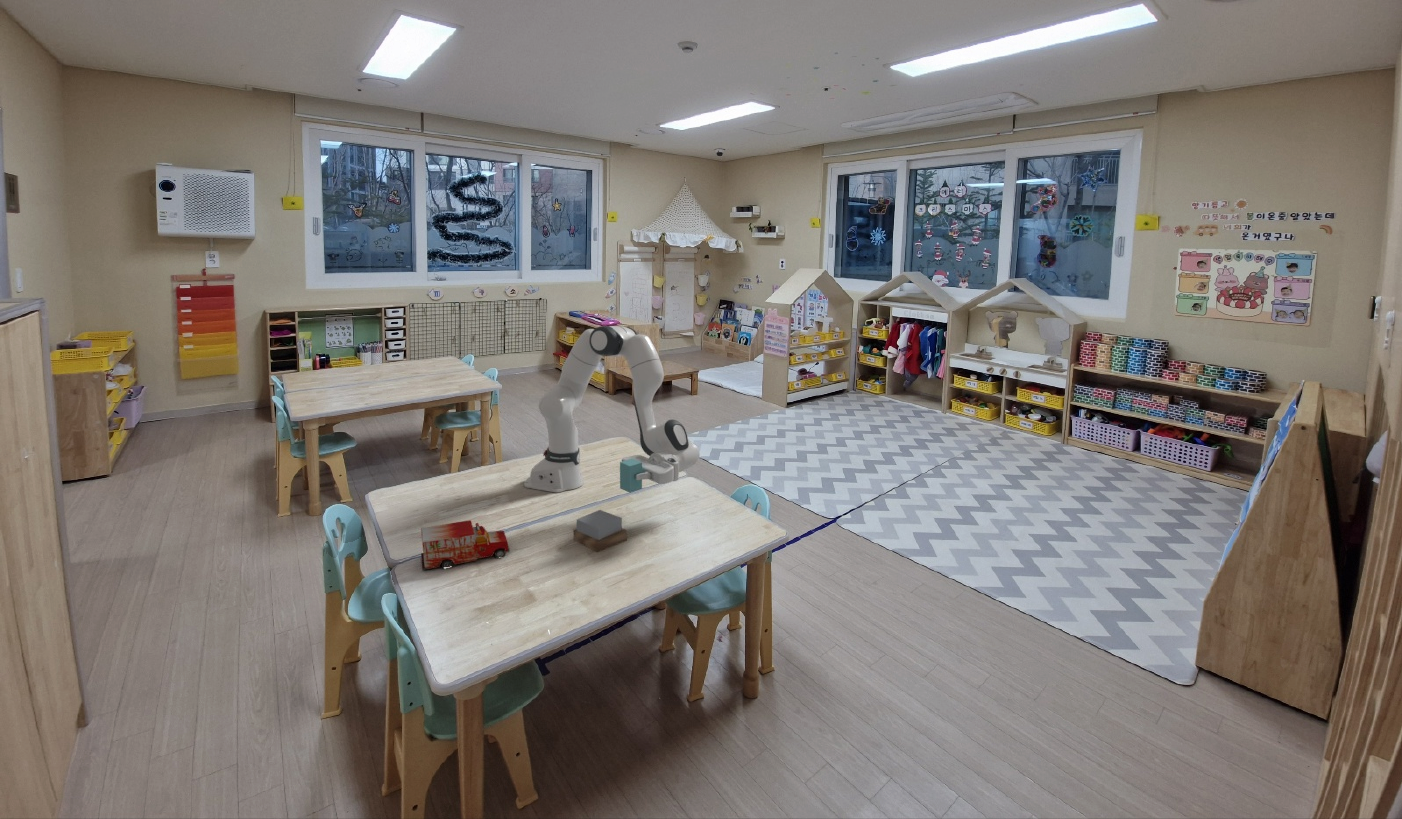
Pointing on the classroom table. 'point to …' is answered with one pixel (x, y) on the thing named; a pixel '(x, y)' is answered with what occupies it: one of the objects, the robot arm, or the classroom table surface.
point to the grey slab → (599, 524)
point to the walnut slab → (602, 543)
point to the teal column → (630, 475)
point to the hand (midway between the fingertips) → (628, 474)
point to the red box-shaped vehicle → (460, 544)
